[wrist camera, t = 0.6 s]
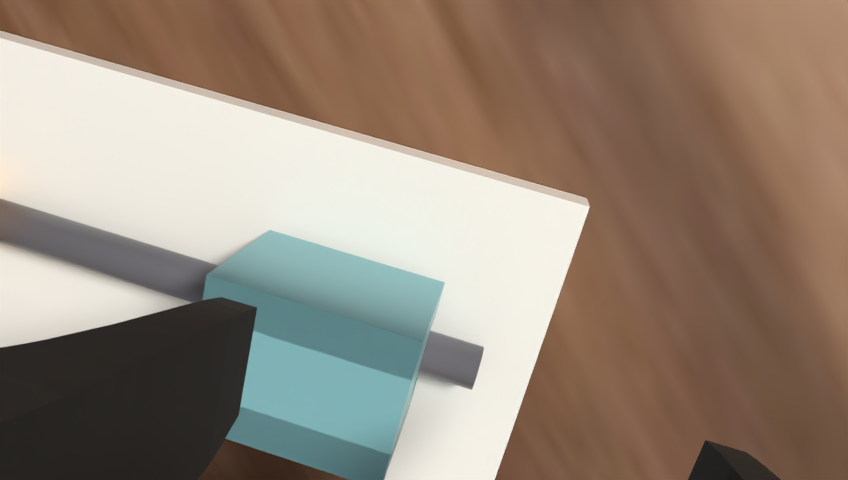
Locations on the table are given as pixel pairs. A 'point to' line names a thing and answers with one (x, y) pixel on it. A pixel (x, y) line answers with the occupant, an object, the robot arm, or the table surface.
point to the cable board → (269, 210)
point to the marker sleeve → (326, 352)
